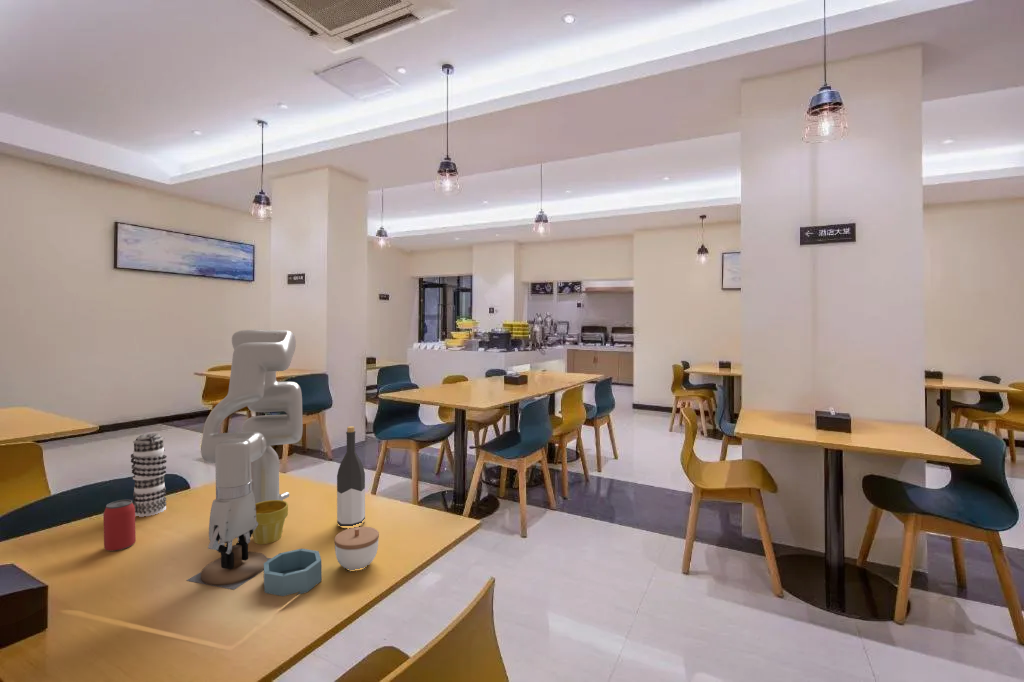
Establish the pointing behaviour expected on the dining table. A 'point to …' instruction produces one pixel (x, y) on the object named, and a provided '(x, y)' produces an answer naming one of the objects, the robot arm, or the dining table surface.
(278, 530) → the plant pot
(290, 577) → the bowl
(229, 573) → the lid
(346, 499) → the wine bottle
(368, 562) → the lidded jar
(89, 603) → the dining table surface
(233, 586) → the mat
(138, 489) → the decorative candle
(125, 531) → the beer can
